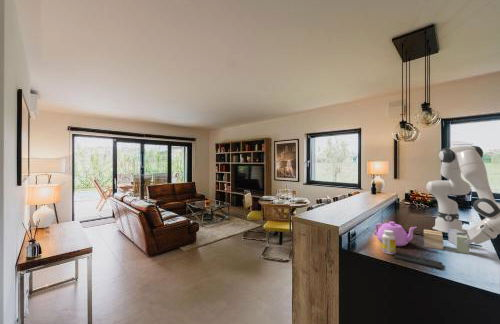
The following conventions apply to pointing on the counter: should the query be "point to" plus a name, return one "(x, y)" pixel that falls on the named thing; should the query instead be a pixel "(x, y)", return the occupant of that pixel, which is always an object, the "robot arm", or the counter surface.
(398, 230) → the teapot
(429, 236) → the tower top block
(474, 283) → the counter surface
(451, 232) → the medicine box
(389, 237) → the supplement bottle
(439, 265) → the smart home device
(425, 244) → the tower base block
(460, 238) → the sage block
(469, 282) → the counter surface
